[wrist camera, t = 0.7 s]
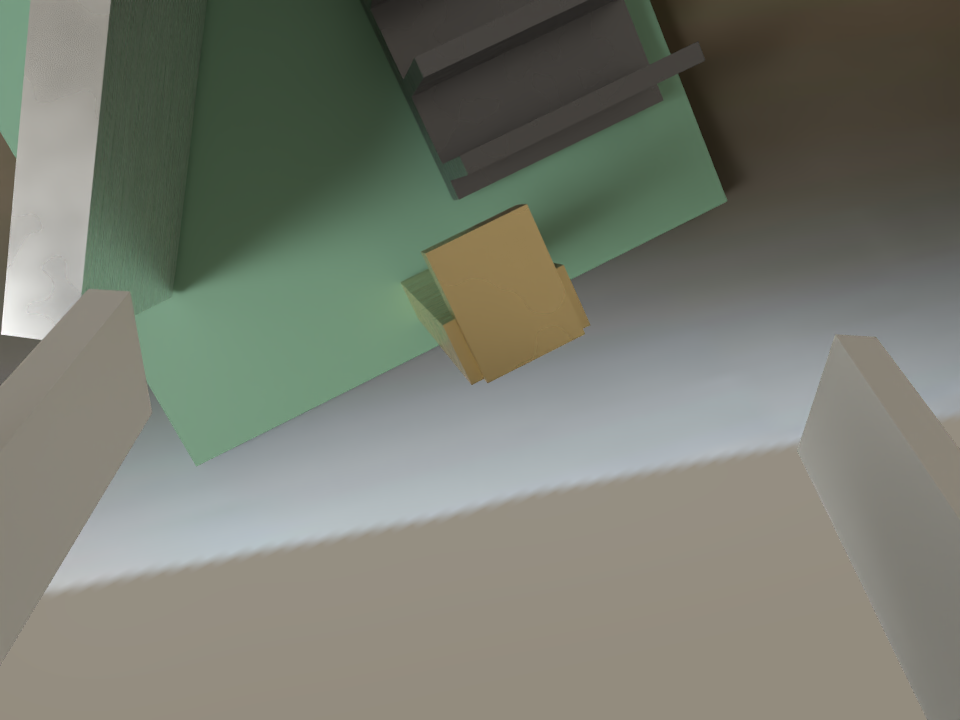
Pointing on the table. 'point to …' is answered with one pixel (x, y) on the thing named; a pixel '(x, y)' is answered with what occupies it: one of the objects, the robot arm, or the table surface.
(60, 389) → the robot arm
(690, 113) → the motherboard
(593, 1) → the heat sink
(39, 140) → the grey flat slab
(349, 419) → the table surface
